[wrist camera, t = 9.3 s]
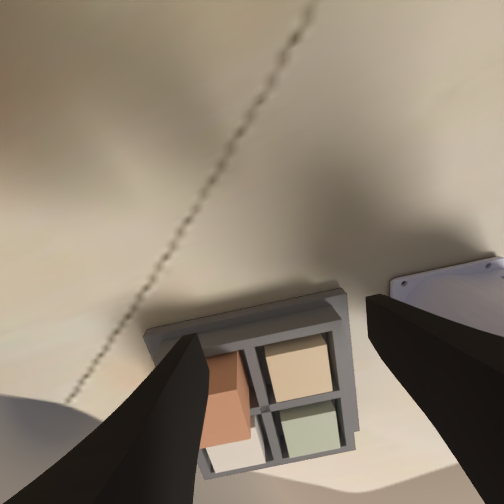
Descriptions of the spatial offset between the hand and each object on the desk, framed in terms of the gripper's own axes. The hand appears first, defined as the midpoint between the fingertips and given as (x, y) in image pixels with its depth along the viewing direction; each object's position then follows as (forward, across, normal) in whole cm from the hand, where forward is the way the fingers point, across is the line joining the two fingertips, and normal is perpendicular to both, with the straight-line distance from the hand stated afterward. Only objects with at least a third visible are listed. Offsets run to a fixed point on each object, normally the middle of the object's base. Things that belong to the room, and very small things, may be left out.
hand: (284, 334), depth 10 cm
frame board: (+9, +2, +12) cm, 15 cm away
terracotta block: (+8, +6, +8) cm, 13 cm away
